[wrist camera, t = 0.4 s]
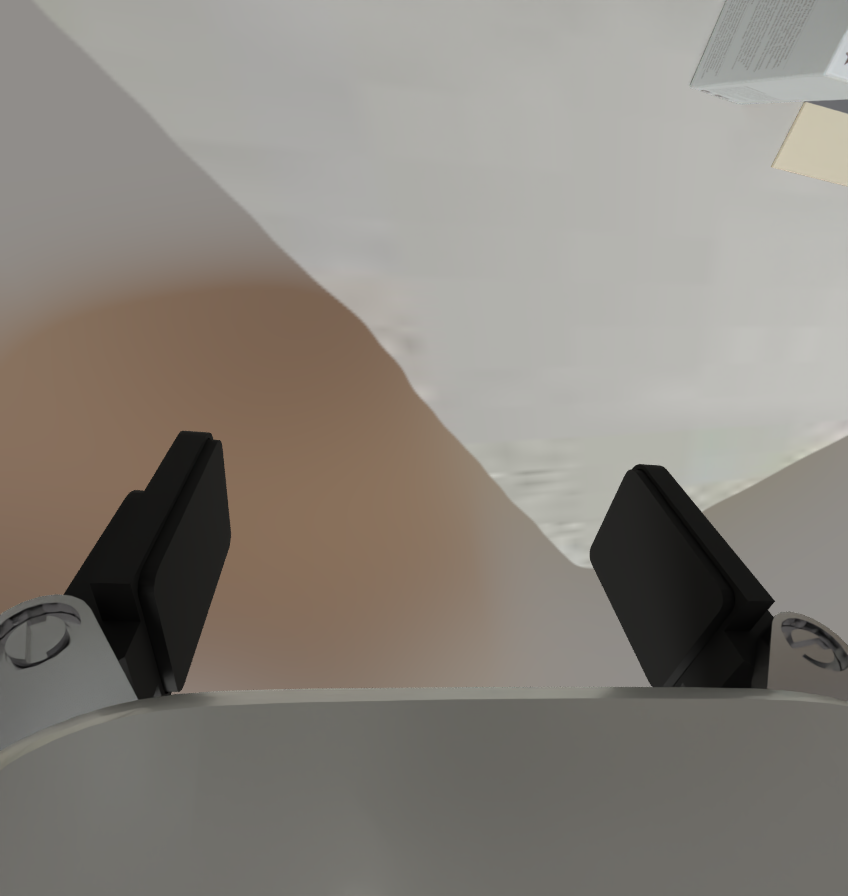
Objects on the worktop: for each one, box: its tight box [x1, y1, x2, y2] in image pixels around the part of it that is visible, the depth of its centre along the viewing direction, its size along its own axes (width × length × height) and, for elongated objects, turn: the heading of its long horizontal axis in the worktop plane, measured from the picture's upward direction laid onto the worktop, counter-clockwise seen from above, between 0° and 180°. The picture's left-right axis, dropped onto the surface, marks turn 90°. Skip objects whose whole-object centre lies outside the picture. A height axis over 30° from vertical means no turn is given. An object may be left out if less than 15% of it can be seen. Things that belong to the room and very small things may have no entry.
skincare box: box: [690, 0, 848, 104], centre depth 27 cm, size 6×4×12 cm
